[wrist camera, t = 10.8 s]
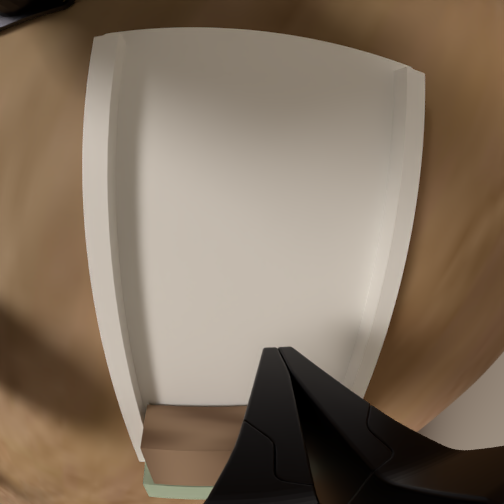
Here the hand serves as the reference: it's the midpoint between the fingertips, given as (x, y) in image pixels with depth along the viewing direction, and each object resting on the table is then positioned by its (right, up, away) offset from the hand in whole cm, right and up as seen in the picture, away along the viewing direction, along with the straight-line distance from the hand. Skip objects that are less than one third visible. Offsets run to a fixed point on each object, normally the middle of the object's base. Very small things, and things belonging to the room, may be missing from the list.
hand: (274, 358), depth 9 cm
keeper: (-1, -7, +7) cm, 10 cm away
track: (-1, 0, +6) cm, 6 cm away
